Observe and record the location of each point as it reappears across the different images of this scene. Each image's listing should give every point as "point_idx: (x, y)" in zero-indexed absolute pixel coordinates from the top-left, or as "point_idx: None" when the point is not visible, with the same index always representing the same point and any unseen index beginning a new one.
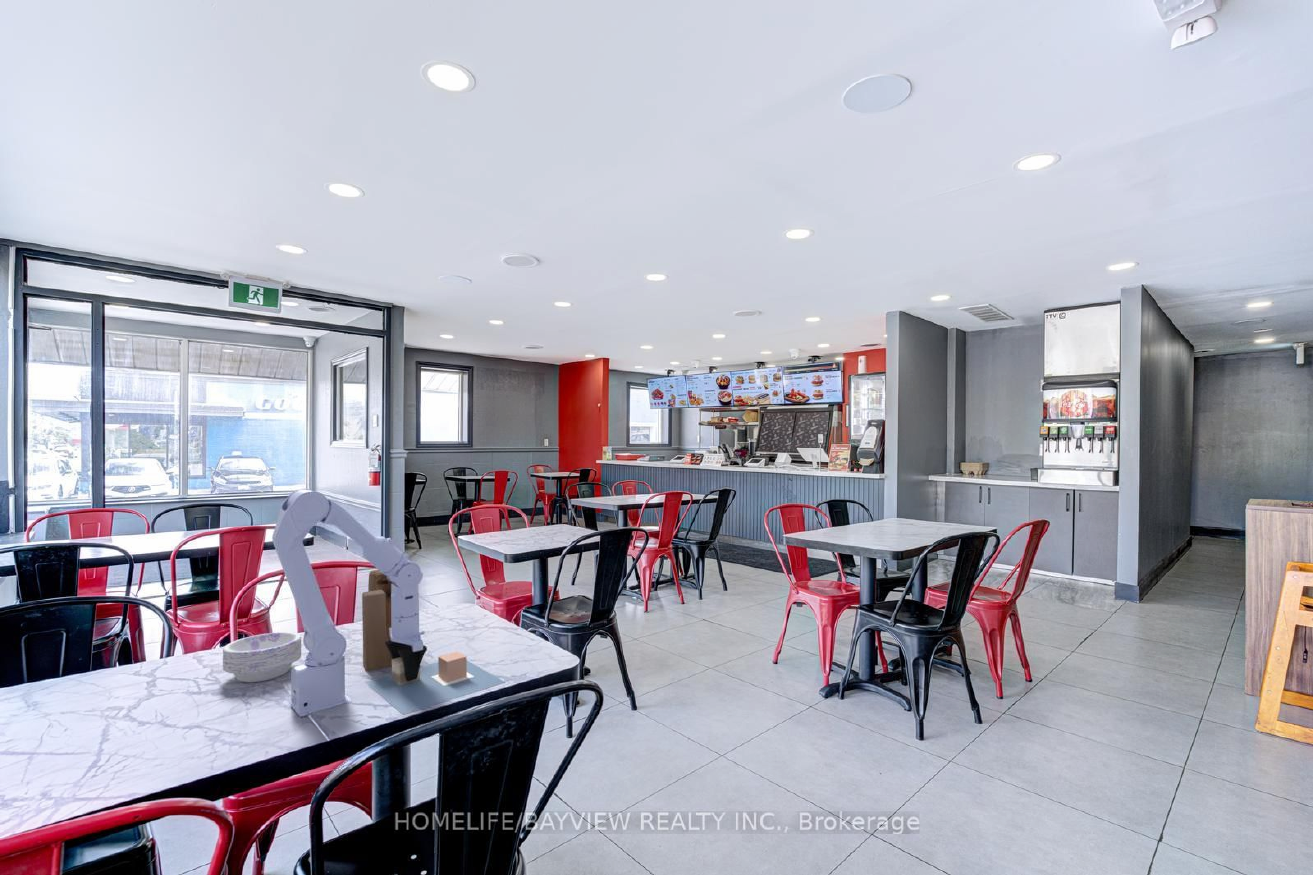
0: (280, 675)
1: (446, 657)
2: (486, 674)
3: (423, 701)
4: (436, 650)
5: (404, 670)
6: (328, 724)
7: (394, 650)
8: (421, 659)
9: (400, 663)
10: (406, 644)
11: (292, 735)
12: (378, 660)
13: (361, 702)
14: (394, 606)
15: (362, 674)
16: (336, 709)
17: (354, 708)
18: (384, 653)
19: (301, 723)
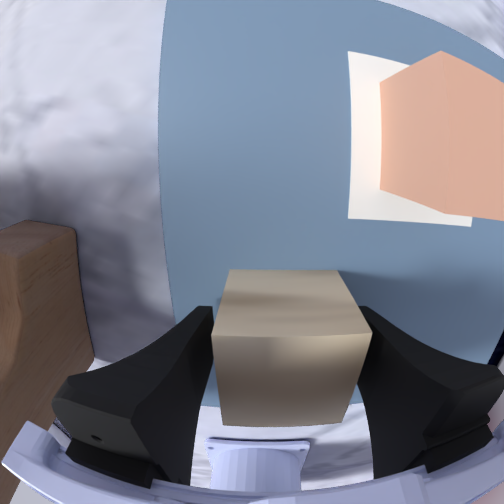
0: (60, 431)
1: (491, 182)
2: (472, 50)
3: (485, 323)
4: (20, 82)
5: (359, 386)
6: (365, 458)
7: (189, 443)
8: (437, 353)
9: (329, 417)
10: (166, 415)
11: (349, 479)
12: (70, 353)
13: (323, 426)
14: None
15: (96, 365)
16: (311, 453)
17: (343, 436)
18: (50, 349)
19: (318, 477)
